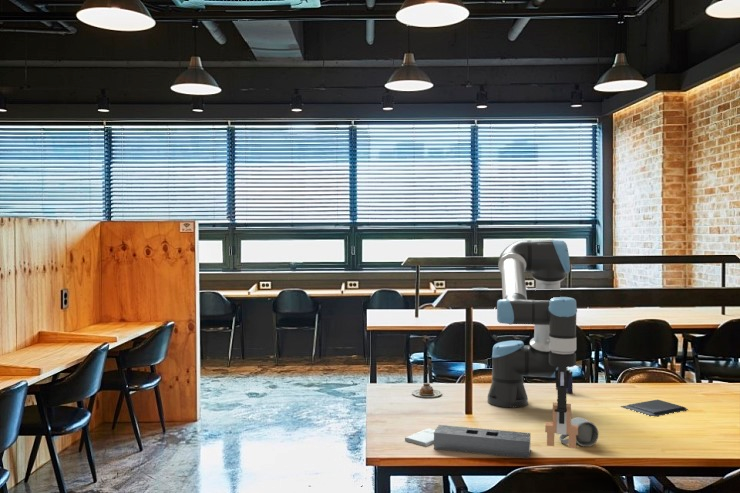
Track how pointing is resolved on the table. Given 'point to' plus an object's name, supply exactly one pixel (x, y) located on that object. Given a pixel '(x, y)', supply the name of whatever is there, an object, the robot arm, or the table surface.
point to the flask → (569, 383)
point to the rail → (482, 441)
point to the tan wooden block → (552, 428)
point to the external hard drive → (422, 437)
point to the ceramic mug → (583, 432)
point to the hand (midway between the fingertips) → (561, 431)
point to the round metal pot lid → (426, 391)
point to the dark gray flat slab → (655, 407)
